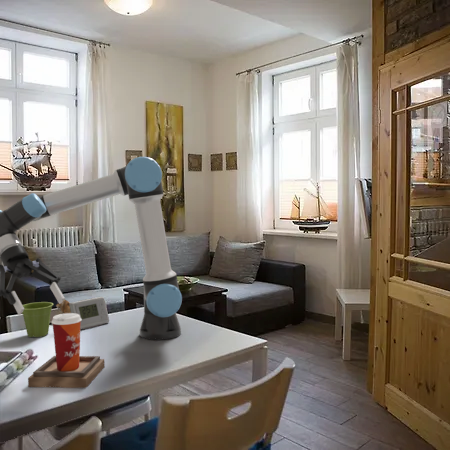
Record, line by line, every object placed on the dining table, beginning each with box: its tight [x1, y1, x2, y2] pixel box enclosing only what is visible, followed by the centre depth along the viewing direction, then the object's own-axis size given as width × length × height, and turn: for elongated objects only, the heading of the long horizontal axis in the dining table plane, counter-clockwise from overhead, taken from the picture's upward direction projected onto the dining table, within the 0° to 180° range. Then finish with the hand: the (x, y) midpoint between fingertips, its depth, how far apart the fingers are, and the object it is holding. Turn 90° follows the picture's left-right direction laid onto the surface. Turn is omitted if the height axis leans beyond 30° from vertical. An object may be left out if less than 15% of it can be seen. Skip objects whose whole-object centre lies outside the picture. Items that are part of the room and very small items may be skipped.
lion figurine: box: [55, 298, 71, 314], centre depth 204 cm, size 15×5×9 cm, turn 53°
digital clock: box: [69, 296, 110, 331], centre depth 197 cm, size 16×9×11 cm, turn 129°
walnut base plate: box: [27, 355, 105, 389], centre depth 141 cm, size 16×16×4 cm
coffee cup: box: [50, 313, 82, 371], centre depth 141 cm, size 8×8×15 cm
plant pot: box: [21, 301, 54, 338], centre depth 185 cm, size 12×12×11 cm
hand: (42, 306), depth 147 cm, fingers open, 13 cm apart
